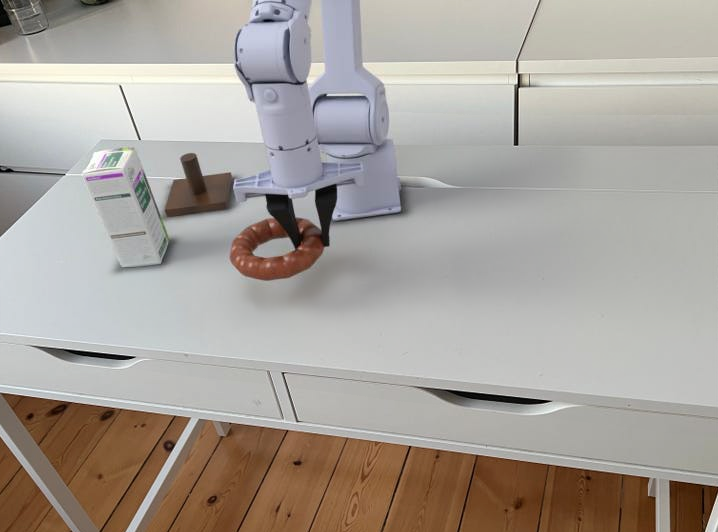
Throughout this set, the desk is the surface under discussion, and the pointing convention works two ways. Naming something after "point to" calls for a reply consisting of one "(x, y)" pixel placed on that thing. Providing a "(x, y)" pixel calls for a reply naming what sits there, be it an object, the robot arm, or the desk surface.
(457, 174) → the desk surface
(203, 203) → the post
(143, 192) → the syrup box
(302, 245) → the ring
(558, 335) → the desk surface
